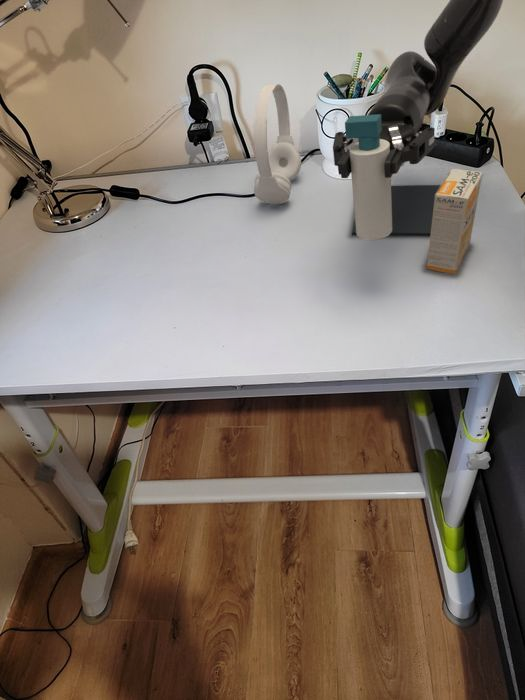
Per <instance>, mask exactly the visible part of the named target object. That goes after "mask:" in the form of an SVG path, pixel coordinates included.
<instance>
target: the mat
mask: <svg viewBox="0 0 525 700" xmlns="http://www.w3.org/2000/svg"><path fill="white" fill-rule="evenodd" d="M441 185H442V184H419V185H418V184H416V185H415V184H414V185H413V184H412V185H410V184H409V185H391V201H392V232H391V233H390V234H389V235H388V236H390V237H391V236H393V237H395V236H396V237H398V236H400V237H404V236H405V237H430V235H431V226H432V218H433V209H434V200H435V194H436V192H437V191H438V189H439V188H440V186H441ZM351 236H357V234H356V223H355V217H354V219H353V223H352V230H351ZM388 236H387V237H388Z"/></svg>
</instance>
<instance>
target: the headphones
mask: <svg viewBox="0 0 525 700" xmlns="http://www.w3.org/2000/svg"><path fill="white" fill-rule="evenodd" d="M272 95H273V98H274V101H275V106H276V113H277V114H276V115H277V122H278V125H277V126H278V136H277V139H276V143H274V144H273V145H272V146H271V147H270V149H268V133H267V132H268V111H269V110H268V109H269V105H270V99H271V96H272ZM253 120H254V121H253V145H254V148H253V149H254V155H255V163H256V166H257V171H258V174H257V175H256V177H255V179H254V181H253V182H254V186H253V194H254V197H256V198H257V199H258V200H259V201H260V202H263V203H265V204H269V205H281V204H284V203H286V202H287V201H289V199H290V196H291V190H292V187H293V185H292V182H291V181H293V180H294V179H295V178H296V177H297V176H298V175H299V173H300V172H301V168H302V158H301V154H300V152H299V151H298V148H296V145H295V142H294V139H293V137H292V135H291V122H290V111H289V104H288V98H287V95H286V91H285V89H284V87H283V86H282V85H281V84H279V83H269V84H266V85H264V86H263V88H262V89H261V91H260V93H259V95H258V97H257V101H256V105H255V110H254V118H253Z"/></svg>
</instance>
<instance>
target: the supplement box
mask: <svg viewBox="0 0 525 700" xmlns="http://www.w3.org/2000/svg"><path fill="white" fill-rule="evenodd" d="M483 175H484V172H483V171H477V170H470V169H469V170H468V169H459V168H451V169H450V170H449V172H448V174H447V175H446V176H445V178H444V180H443V182H442V183H441V184H440V185H441V186H440V188H439V189H438V191H437V192H436V194H435V200H434V209H433V218H432V226H431V235H430V236H429V242H428V243H429V245H428V253H427V261H426V269H427V270H431V271H434V272H435V271H437V272H441V273H445V274H449V275H456V274H457V272H458V269H459V267H460V265H461V262H462V260H463V258H464V256H465V254H466V252H468V251H467V250H468V249H469V247H470V244H471V238H472V232H473V227H474V223H475V216H476V211H477V206H478V201H479V196H480V190H481V184H482V179H483Z"/></svg>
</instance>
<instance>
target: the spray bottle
mask: <svg viewBox="0 0 525 700" xmlns="http://www.w3.org/2000/svg"><path fill="white" fill-rule="evenodd" d="M344 130H345V135H346V139H352V138H358V143H355V144H354V145H352V146H351V147H350V149H349V151H350V163H351V173H350V176H351V187H352V199H353V210H354V211H353V212H354V218H355V223H356V234H357V235H356V236H357V237H358V238H360V239H362V240H366V241H377V240H382V239H384V238H387V237H388V235H389V234H390V233H391V232H392V201H391V186H392V177H391V178H385V169H384V163H385V160H386V158H387V156H388V154H389V153H390V143H389V142H388V141H386V140H383V139H380V135H379V134H380V132H381V131H382V123H381V114H377V115H368V114H363V115H350V116H348V118H347V119H346V121H345V122H344Z"/></svg>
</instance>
